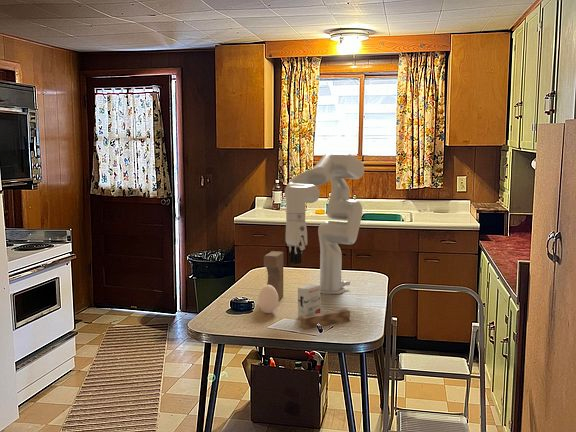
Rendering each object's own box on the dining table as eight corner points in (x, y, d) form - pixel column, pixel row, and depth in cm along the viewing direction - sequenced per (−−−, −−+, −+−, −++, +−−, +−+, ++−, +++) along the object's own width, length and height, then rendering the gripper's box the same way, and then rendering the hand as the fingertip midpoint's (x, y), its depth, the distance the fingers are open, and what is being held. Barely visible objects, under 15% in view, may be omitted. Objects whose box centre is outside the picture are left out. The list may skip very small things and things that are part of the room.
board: (345, 318, 231) (345, 308, 230) (349, 320, 228) (349, 310, 228) (300, 326, 221) (300, 316, 220) (304, 329, 218) (304, 318, 218)
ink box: (310, 312, 239) (311, 283, 238) (320, 314, 236) (321, 285, 235) (297, 317, 233) (297, 287, 231) (307, 319, 230) (307, 289, 228)
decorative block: (276, 303, 251) (275, 256, 248) (263, 302, 253) (262, 255, 250) (284, 297, 262) (284, 251, 259) (271, 295, 263) (271, 250, 261)
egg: (263, 317, 233) (263, 288, 231) (255, 311, 240) (254, 283, 238) (282, 314, 236) (282, 285, 235) (273, 309, 243) (273, 281, 242)
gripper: (314, 218, 233) (314, 265, 236) (293, 214, 247) (293, 258, 250) (297, 220, 230) (297, 267, 232) (277, 215, 244) (277, 260, 246)
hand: (295, 262), depth 241 cm, fingers closed
